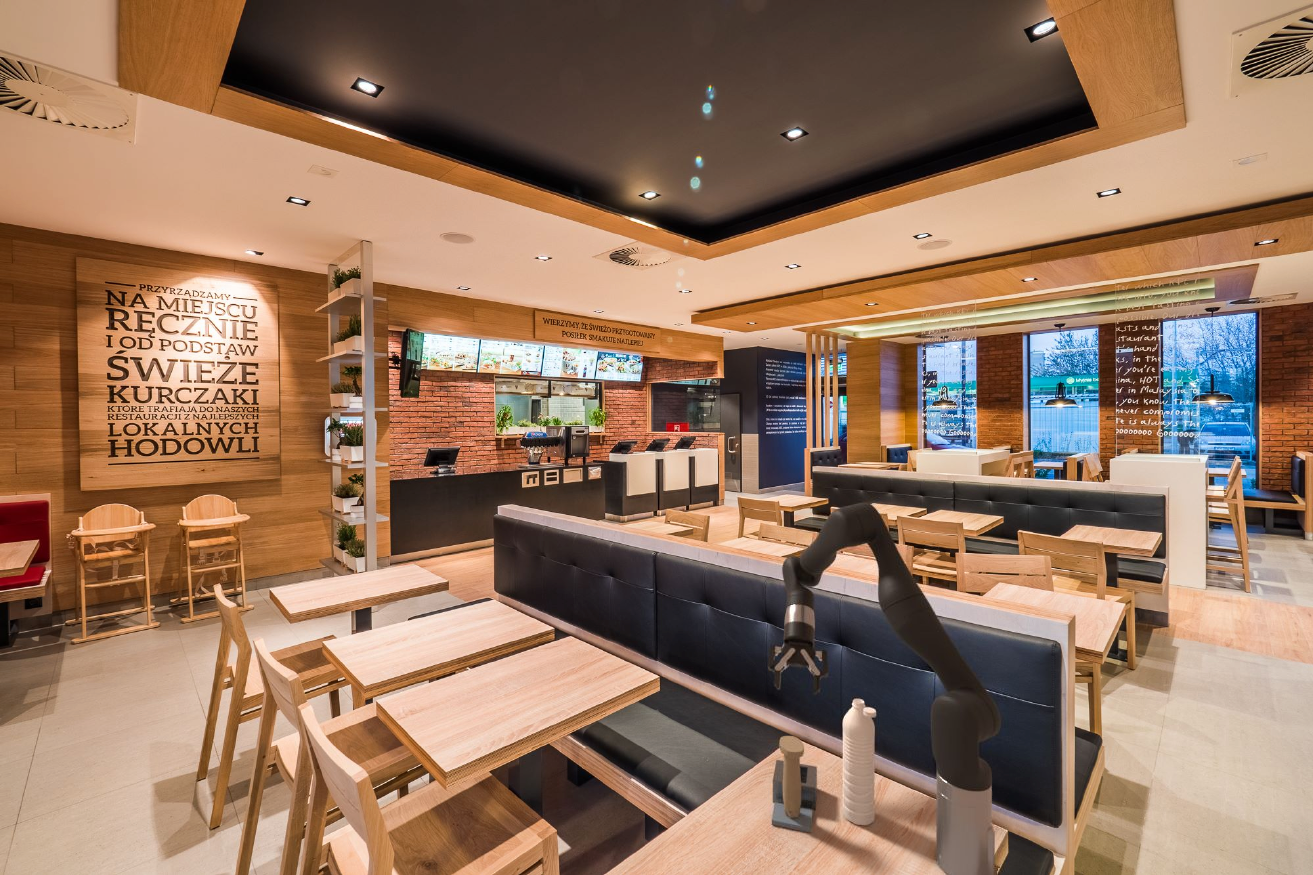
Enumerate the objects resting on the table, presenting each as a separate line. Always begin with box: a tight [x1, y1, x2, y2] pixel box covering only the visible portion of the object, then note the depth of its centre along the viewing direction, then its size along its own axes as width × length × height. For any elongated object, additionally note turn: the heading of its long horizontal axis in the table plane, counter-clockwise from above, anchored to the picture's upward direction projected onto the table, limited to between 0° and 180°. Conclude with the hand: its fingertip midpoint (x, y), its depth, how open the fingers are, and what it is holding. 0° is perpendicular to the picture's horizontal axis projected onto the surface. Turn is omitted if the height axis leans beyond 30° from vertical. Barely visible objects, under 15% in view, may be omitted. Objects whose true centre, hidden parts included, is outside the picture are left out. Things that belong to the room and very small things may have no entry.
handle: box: [778, 735, 805, 818], centre depth 121 cm, size 5×6×15 cm
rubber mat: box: [771, 802, 813, 834], centre depth 121 cm, size 8×6×1 cm
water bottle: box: [841, 698, 877, 826], centre depth 121 cm, size 9×6×25 cm
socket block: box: [772, 759, 818, 811], centre depth 129 cm, size 9×8×5 cm
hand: (796, 690), depth 135 cm, fingers open, 8 cm apart
